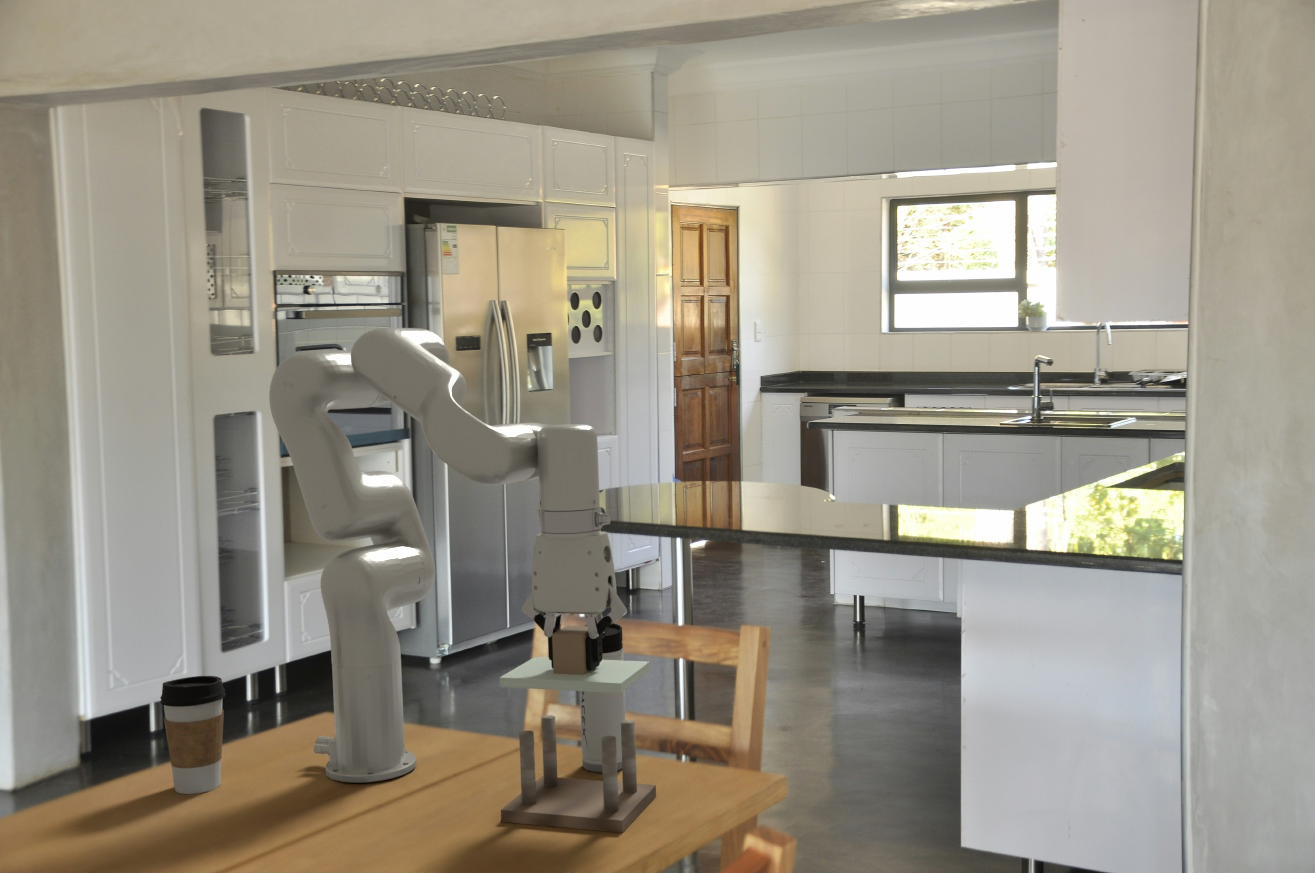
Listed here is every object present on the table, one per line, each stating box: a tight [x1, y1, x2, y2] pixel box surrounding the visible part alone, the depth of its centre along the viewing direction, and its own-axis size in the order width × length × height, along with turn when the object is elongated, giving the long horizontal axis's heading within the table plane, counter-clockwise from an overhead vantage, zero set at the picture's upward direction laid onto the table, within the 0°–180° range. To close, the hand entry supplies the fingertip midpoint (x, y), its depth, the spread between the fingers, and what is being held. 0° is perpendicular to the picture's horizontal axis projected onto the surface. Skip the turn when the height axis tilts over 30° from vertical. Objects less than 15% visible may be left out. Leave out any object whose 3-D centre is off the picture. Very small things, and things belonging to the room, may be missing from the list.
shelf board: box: [499, 625, 651, 693], centre depth 157 cm, size 16×11×6 cm
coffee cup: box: [159, 675, 226, 795], centre depth 171 cm, size 8×8×15 cm
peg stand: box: [500, 714, 657, 833], centre depth 158 cm, size 16×13×10 cm
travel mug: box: [579, 622, 626, 774], centre depth 175 cm, size 6×7×20 cm
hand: (575, 665), depth 157 cm, fingers closed on shelf board, 4 cm apart
